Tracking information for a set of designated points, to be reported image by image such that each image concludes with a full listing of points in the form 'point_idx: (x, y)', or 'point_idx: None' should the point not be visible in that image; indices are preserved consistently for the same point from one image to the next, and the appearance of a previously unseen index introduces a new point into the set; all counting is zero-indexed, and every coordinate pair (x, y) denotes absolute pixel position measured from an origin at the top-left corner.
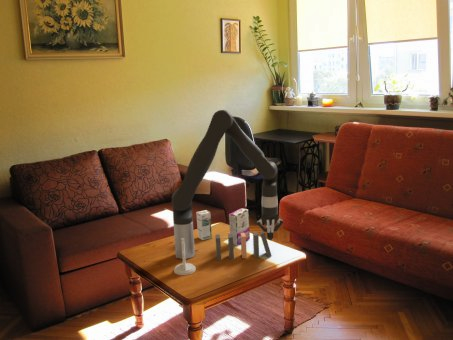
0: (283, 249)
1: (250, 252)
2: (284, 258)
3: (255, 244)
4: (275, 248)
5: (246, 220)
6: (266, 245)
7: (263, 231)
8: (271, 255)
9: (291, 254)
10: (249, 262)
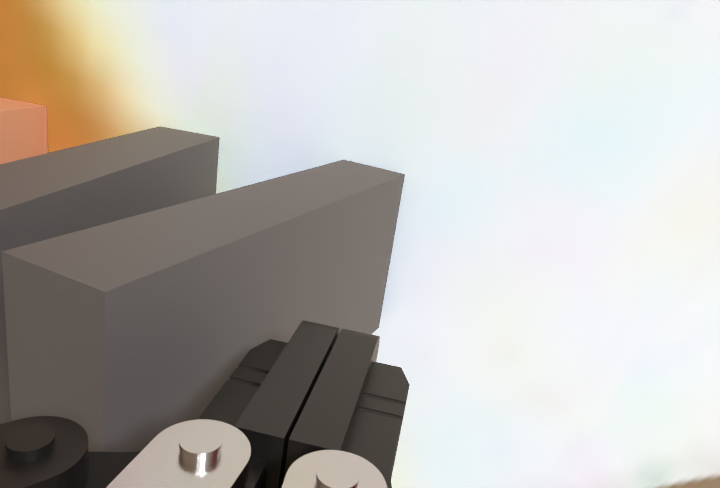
0: (683, 124)
1: (121, 64)
2: (532, 439)
3: None
4: (563, 29)
5: None
6: None
7: (95, 309)
8: (377, 327)
9: (703, 361)
10: None
